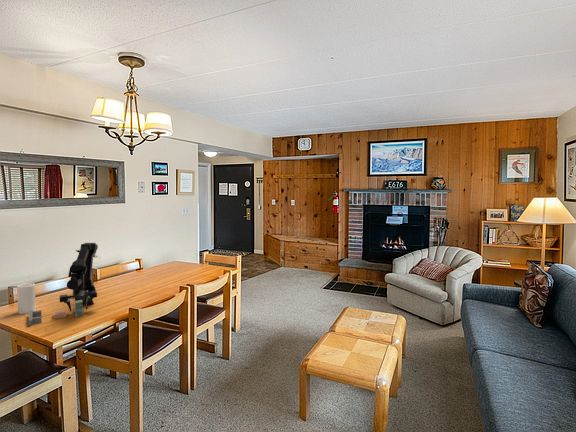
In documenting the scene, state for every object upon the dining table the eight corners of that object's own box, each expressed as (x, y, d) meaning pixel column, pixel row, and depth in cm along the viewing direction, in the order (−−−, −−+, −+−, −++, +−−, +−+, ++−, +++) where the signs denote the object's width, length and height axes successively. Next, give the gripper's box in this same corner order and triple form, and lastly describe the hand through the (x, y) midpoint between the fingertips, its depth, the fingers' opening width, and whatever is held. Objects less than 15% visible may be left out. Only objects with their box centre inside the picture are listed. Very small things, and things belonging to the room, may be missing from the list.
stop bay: (29, 315, 196) (29, 310, 196) (41, 313, 199) (41, 308, 199) (28, 326, 182) (28, 320, 181) (41, 324, 185) (41, 318, 184)
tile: (53, 315, 198) (53, 311, 198) (65, 314, 201) (65, 309, 201) (53, 319, 193) (53, 315, 193) (66, 317, 196) (65, 313, 196)
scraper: (74, 310, 206) (74, 301, 206) (80, 309, 208) (80, 300, 208) (75, 317, 197) (75, 306, 196) (82, 315, 199) (82, 305, 198)
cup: (26, 314, 198) (25, 287, 197) (14, 313, 199) (13, 286, 198) (39, 309, 206) (38, 283, 205) (27, 308, 207) (26, 282, 206)
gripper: (60, 290, 189) (60, 317, 190) (98, 285, 200) (98, 311, 201) (59, 285, 198) (59, 311, 199) (95, 281, 209) (96, 306, 210)
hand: (78, 310), depth 202 cm, fingers open, 8 cm apart
